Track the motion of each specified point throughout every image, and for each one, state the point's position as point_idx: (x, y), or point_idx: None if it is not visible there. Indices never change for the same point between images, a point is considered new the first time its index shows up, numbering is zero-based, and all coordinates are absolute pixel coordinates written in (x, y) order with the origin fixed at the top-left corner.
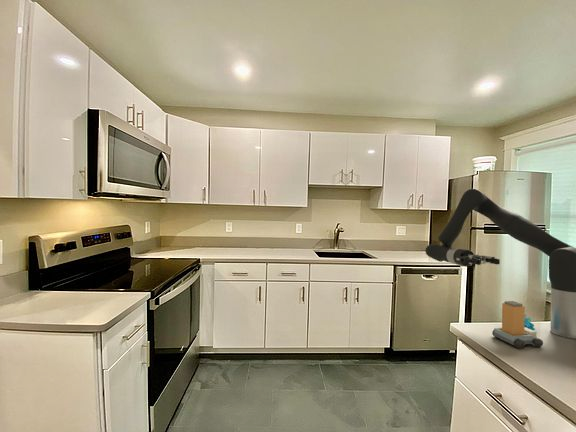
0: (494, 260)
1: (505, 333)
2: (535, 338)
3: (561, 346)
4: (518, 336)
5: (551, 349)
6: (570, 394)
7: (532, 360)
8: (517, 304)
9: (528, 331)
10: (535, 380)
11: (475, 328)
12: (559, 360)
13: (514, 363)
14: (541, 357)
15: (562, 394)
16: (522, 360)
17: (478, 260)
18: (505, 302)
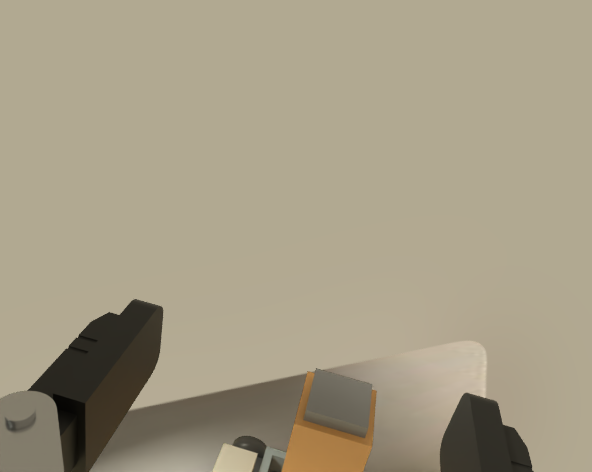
0: (129, 366)
1: None
2: (257, 448)
3: (143, 431)
4: None
5: (217, 437)
6: (449, 344)
7: (382, 432)
8: (346, 378)
9: (254, 460)
10: (479, 389)
11: None
12: (295, 397)
13: None
14: None
15: (467, 350)
16: (416, 445)
17: (492, 418)
18: (367, 426)
